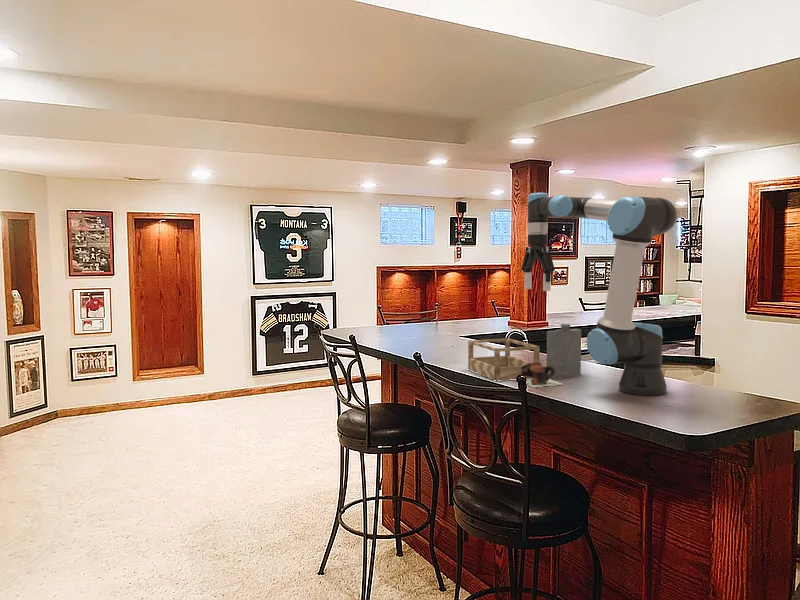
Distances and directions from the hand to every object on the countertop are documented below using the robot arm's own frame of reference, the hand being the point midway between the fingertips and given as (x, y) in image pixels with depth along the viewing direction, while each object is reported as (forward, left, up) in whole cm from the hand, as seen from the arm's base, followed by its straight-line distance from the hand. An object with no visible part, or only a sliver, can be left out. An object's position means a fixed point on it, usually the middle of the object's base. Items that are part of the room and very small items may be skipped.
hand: (537, 289), depth 236 cm
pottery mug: (-16, +9, -32) cm, 37 cm away
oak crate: (+5, +12, -33) cm, 35 cm away
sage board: (-15, +8, -33) cm, 37 cm away
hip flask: (-7, -8, -33) cm, 35 cm away
